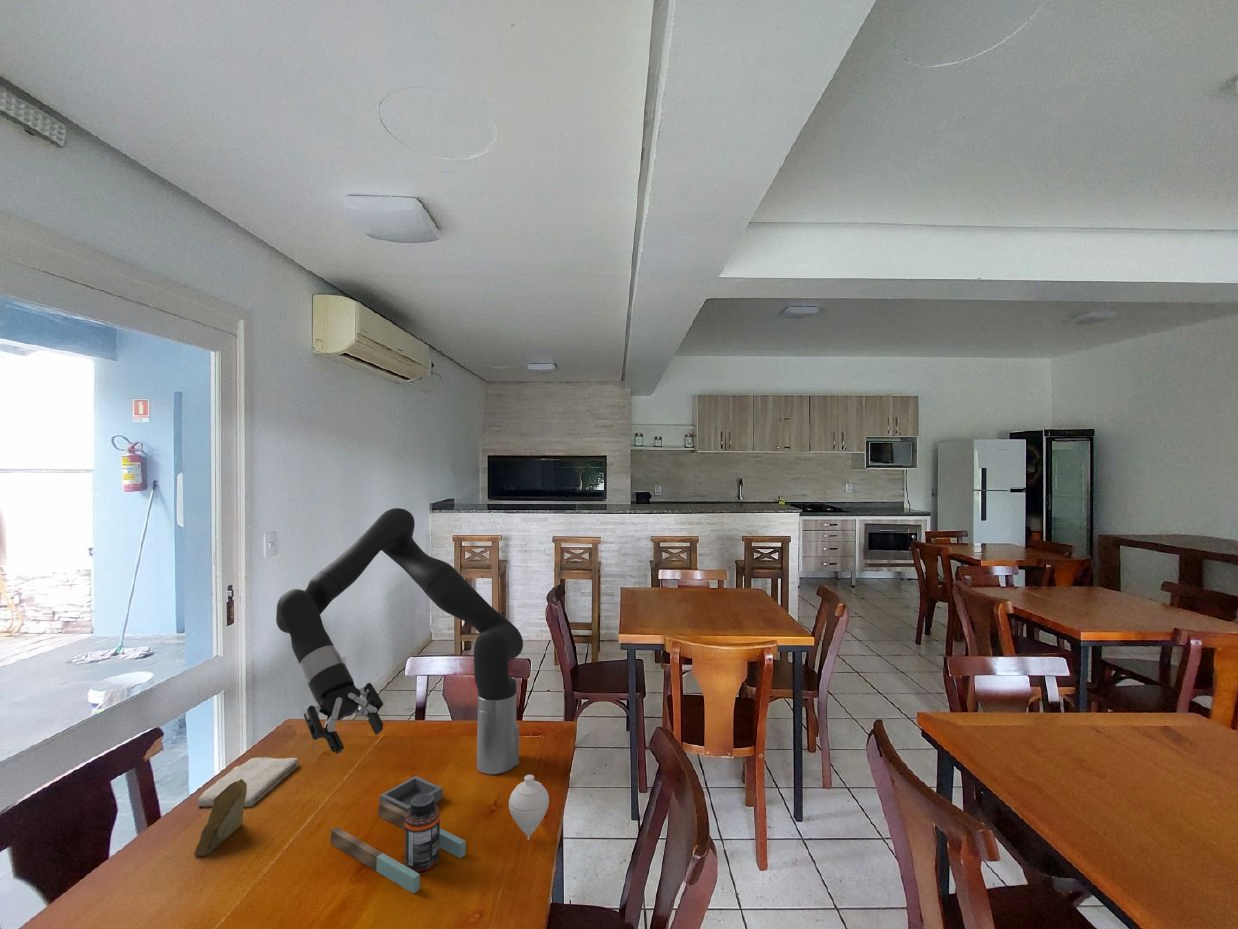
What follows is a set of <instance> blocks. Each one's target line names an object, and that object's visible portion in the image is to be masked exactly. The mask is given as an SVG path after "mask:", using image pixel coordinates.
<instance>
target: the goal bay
mask: <svg viewBox="0 0 1238 929" xmlns="http://www.w3.org/2000/svg"><path fill="white" fill-rule="evenodd" d="M439 845H440V846H439V849H441V850H444V851H446V852H448V853H449V854H451V855H453V856H455V857H456V858H459V859H461V858H464V857H465V855H466V849H467V848H466V847H467V846H466V845H467V844H466V840H465V839H462V838H461V837H458V836H456V835H454V834H453V833H450V832H448V831H446V830H444V829H442V828H440V844H439ZM375 872H376V873H378V874H380V875H382V876H384V877H385V878H387V879H388V880H390V881H391V882H393V883H396V884H397V885H398V886H399V887H401V888H404V889H405V890H406V891H409V892H410V893H412V894H415V893H417V892H418V891H420V887H421V886H420V880H421V873H418V872H415V871H413V870H412V869H410V868H408V867H406V866H405V865H404V864H402V863H401V862H399V861H398V860H395V859H394V858H393V857H391V856H389V855H387V854H385V853H383V852H382V854H380V855H379V856H377V864H376V871H375Z"/></svg>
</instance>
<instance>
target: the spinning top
mask: <svg viewBox="0 0 1238 929" xmlns="http://www.w3.org/2000/svg"><path fill="white" fill-rule="evenodd" d="M523 779H524V781H521V782H520V783H519V784H517V785H516V787H515V788H514V789H513V791H512V792H511V794H510V796H509V800H508V810H509V812H510V815H511V817H512V819H513V821H514V822H515V824H516V825H517V826H518V827H519V829H520V830H521V831H522V833H523V834H524V835H526V837H527V840H528V841H530V837H531V835H532V834H533V833H534V832H535V831H536V830H537V828H538V827H539V825H540V824H541V823H542V821H543V819H544V817H545V815H546V814H547V811H548V808H549V806H550V803H549V802H550V796H549V792H548V791H547V788H545V786H544V785H543V784H542V783H541V782H539V781H537V780H535V776H534V774H526V775H525V776H524V777H523Z"/></svg>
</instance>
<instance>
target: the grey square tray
mask: <svg viewBox="0 0 1238 929" xmlns="http://www.w3.org/2000/svg"><path fill="white" fill-rule="evenodd" d="M443 792H444V787H442V786H440V785H437V784H435V783H432V782H431V781H428V780H426V779H423V778H421V777H419V776H416V775H414V776H413V777H411V778H409V779H407V780H405V781H404V782H402V783H400V784H398V785H395V786H394V787H392V788H391V789H388V790H387V791H385V792H383V793H381V794H379V803H381V802H383V801H385V802H387V803H389V804H392V805H394V806H396V807H398V808H400V809H402V810H404V811H406V812H408V811H409V810H410V809H411V800H412V799H413V798H414V797H415V796H417V795H419V794H425V793H428V794H432V795H433V796H434V803H435V804H434V805H436V804H438V803H439V802H441V801H442V800H443V798H444V797H443V796H444V793H443Z"/></svg>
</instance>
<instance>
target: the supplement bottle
mask: <svg viewBox="0 0 1238 929" xmlns="http://www.w3.org/2000/svg"><path fill="white" fill-rule="evenodd" d="M434 804H435V803H434V796H433V795H432V794H428V793H425V794H419V795H417V796H415V797H414V798H413V799H412V800H411V809H410V810H409V811H408V813H407V815H406V817H405V829H404V864H405V866H406V867H408V868H410V869H412V870H413V871H415V872H417V873H418V872H420V873H421V872H424V871H427V870H430V869H431V868H433V867H434V866H435V865H436V864H437V863H438V861H439V859H440V848H439V846H440V845H439V844H440V829H441V827H440V822H441V818H440V815H441V814H440V809H439V807H438V806H437V805H436V804H435V805H434Z"/></svg>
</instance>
